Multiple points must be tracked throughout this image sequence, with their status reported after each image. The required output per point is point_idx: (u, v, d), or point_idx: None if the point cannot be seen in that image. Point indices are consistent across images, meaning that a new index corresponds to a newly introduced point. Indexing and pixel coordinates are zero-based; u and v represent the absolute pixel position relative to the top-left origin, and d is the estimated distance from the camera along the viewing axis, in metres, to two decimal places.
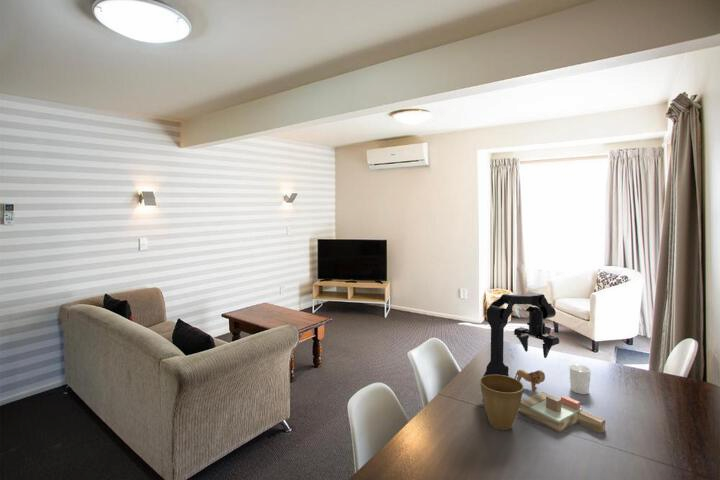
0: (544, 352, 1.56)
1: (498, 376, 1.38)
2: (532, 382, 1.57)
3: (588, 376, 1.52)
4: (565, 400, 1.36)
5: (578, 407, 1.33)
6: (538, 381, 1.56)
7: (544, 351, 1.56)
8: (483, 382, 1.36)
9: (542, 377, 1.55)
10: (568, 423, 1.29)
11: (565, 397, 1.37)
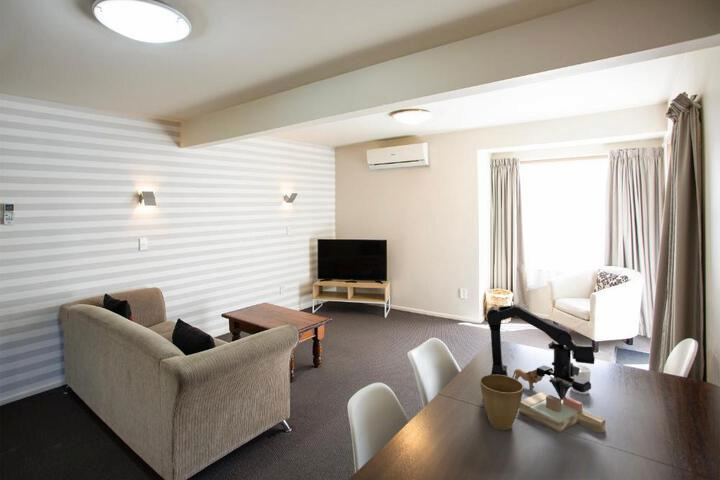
0: (561, 394, 1.37)
1: (498, 376, 1.38)
2: (530, 381, 1.58)
3: (588, 376, 1.52)
4: (567, 401, 1.35)
5: (580, 408, 1.32)
6: (536, 380, 1.56)
7: (561, 393, 1.37)
8: (483, 382, 1.36)
9: None
10: (568, 423, 1.29)
11: (567, 398, 1.36)
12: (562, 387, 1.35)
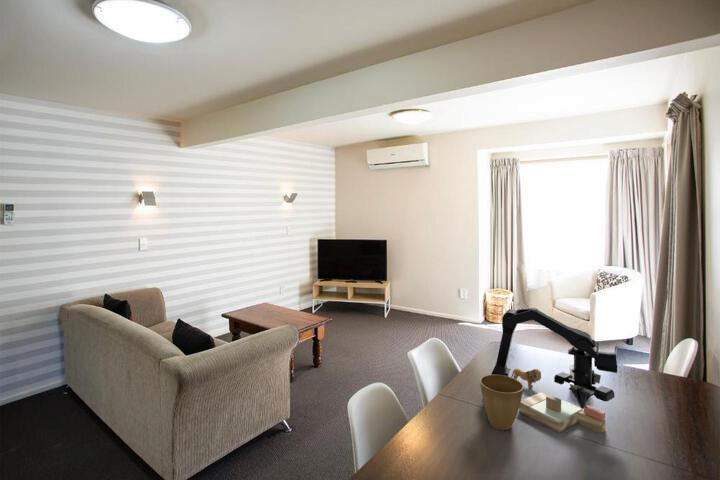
0: (582, 402, 1.30)
1: (498, 376, 1.38)
2: (528, 381, 1.59)
3: None
4: (589, 410, 1.29)
5: (603, 418, 1.26)
6: (534, 380, 1.57)
7: (582, 401, 1.30)
8: (483, 382, 1.36)
9: (538, 376, 1.56)
10: (568, 423, 1.29)
11: (588, 407, 1.30)
12: (583, 395, 1.29)
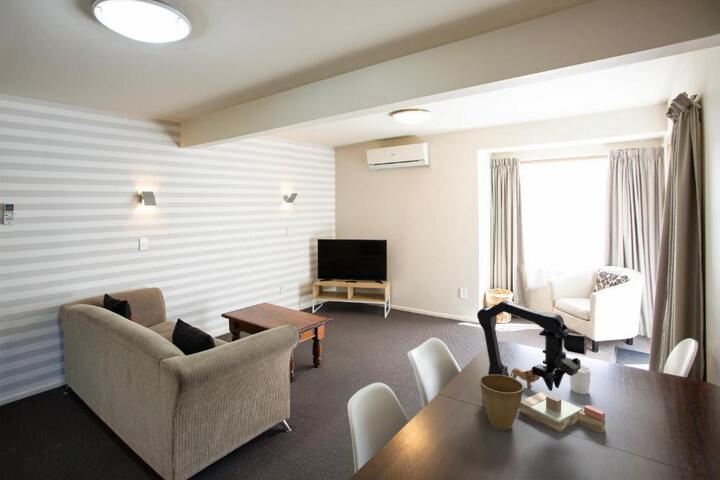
0: None
1: (498, 376, 1.38)
2: (527, 380, 1.59)
3: (588, 376, 1.52)
4: (589, 410, 1.29)
5: (603, 418, 1.26)
6: (533, 379, 1.57)
7: None
8: (483, 382, 1.36)
9: None
10: (568, 423, 1.29)
11: (588, 407, 1.30)
12: None
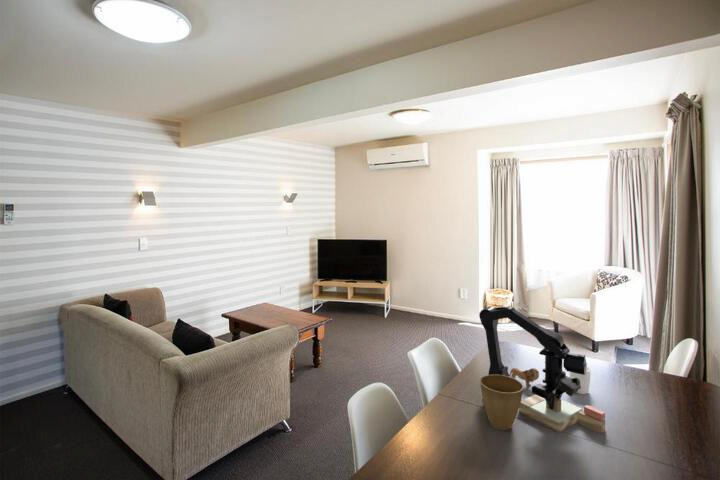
0: None
1: (498, 376, 1.38)
2: (526, 380, 1.59)
3: (588, 376, 1.52)
4: (589, 410, 1.29)
5: (603, 418, 1.26)
6: (532, 379, 1.58)
7: None
8: (483, 382, 1.36)
9: (536, 375, 1.57)
10: (568, 423, 1.29)
11: (588, 407, 1.30)
12: None
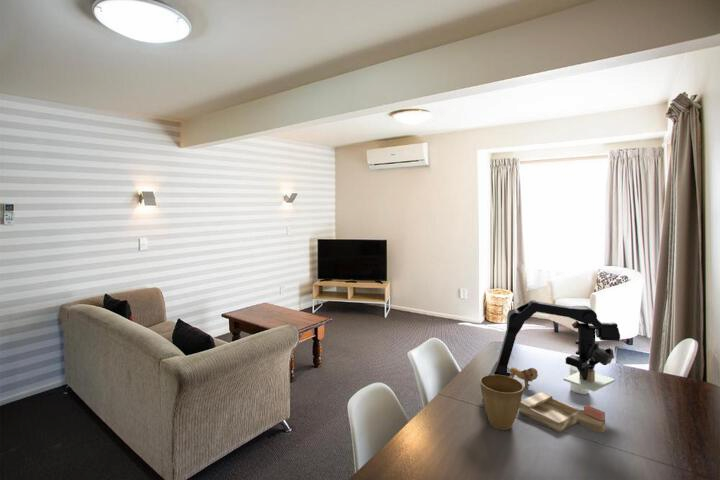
0: None
1: (498, 376, 1.38)
2: (525, 379, 1.60)
3: None
4: (589, 410, 1.29)
5: (603, 418, 1.26)
6: (531, 378, 1.58)
7: None
8: (483, 382, 1.36)
9: (535, 374, 1.58)
10: (568, 423, 1.29)
11: (588, 407, 1.30)
12: None
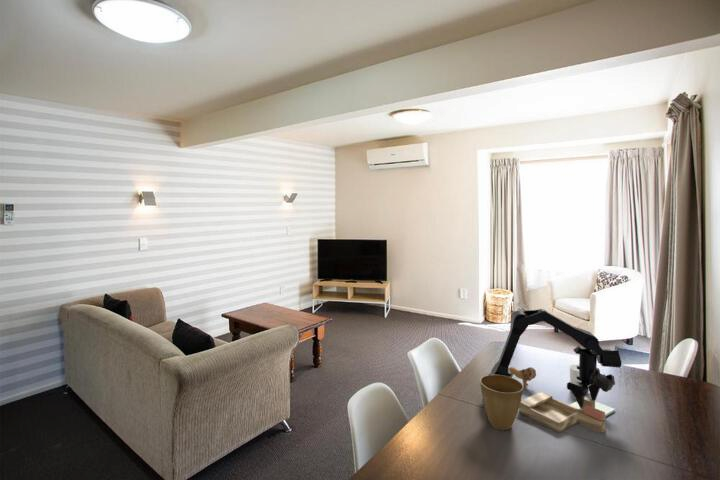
0: None
1: (498, 376, 1.38)
2: (524, 379, 1.60)
3: None
4: (589, 410, 1.29)
5: (603, 418, 1.26)
6: (529, 378, 1.59)
7: None
8: (483, 382, 1.36)
9: (533, 374, 1.59)
10: (568, 423, 1.29)
11: (588, 407, 1.30)
12: None
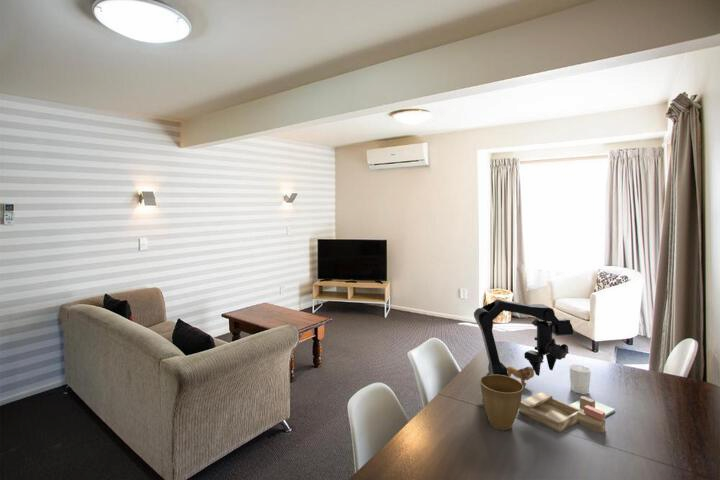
0: None
1: (498, 376, 1.38)
2: (522, 378, 1.61)
3: (588, 376, 1.52)
4: (589, 410, 1.29)
5: (603, 418, 1.26)
6: (528, 377, 1.60)
7: None
8: (483, 382, 1.36)
9: (531, 373, 1.59)
10: (568, 423, 1.29)
11: (588, 407, 1.30)
12: None
